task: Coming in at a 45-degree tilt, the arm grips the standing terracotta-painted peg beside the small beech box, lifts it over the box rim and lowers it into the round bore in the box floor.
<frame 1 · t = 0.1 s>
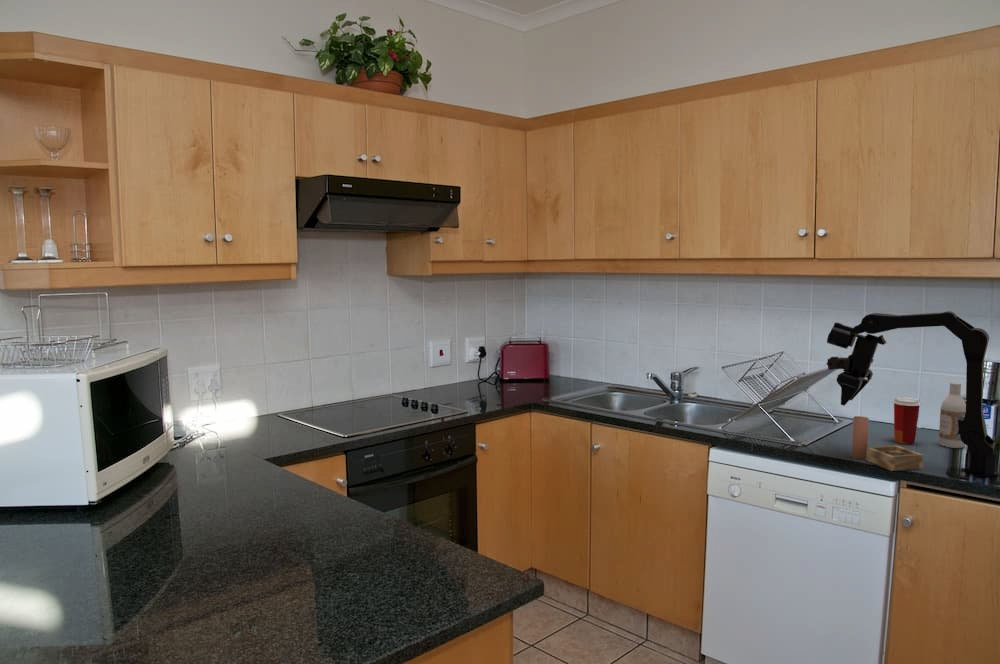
hand: (846, 402, 213), 15 cm above the countertop, tool pointing down, fingers open, 9 cm apart
bath foam: (951, 446, 221), on the countertop
paper cup: (904, 442, 226), on the countertop
peg: (859, 457, 209), on the countertop
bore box: (893, 464, 202), on the countertop
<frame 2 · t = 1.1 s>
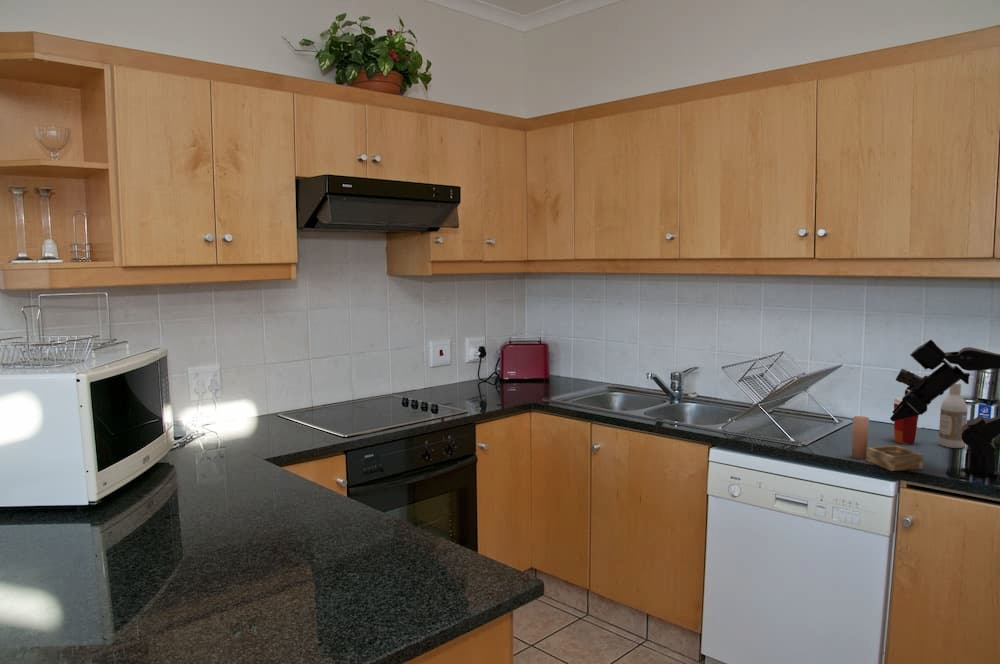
hand: (892, 416, 204), 13 cm above the countertop, tool tilted 45°, fingers open, 9 cm apart
nothing on the countertop moved.
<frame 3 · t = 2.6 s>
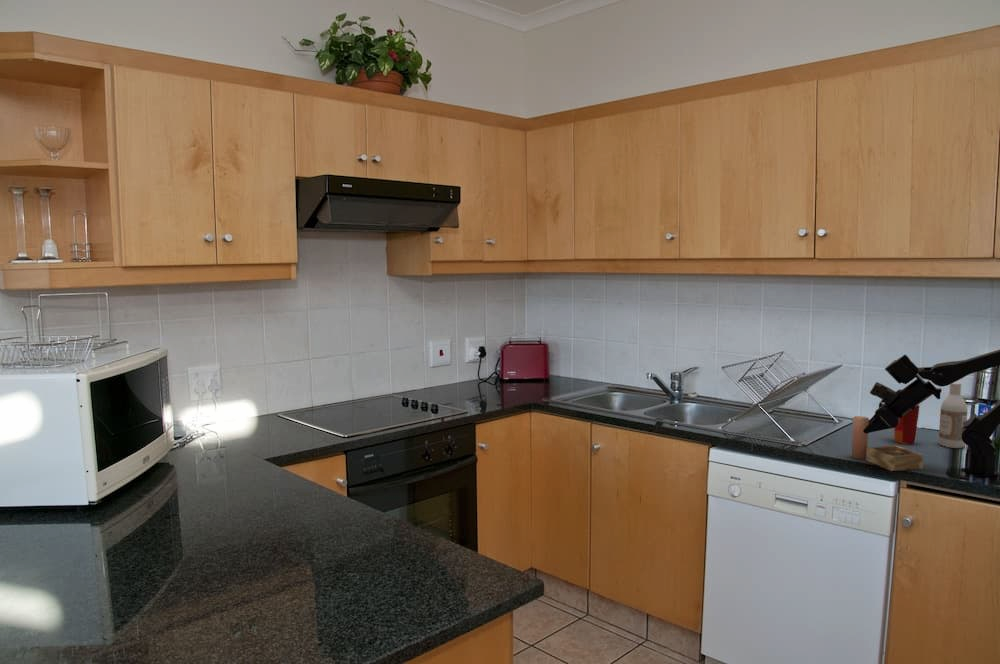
hand: (865, 428, 208), 9 cm above the countertop, tool tilted 45°, fingers open, 9 cm apart
nothing on the countertop moved.
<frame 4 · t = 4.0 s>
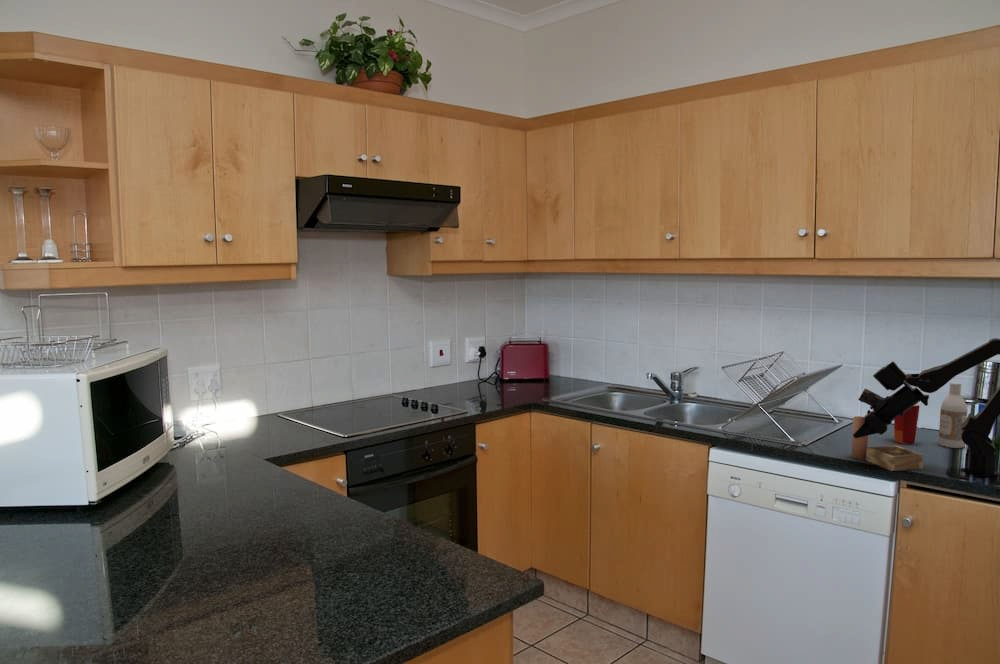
hand: (855, 435, 209), 7 cm above the countertop, tool tilted 45°, fingers closed on peg, 4 cm apart
peg: (859, 457, 209), on the countertop, touching gripper
everything else where it was.
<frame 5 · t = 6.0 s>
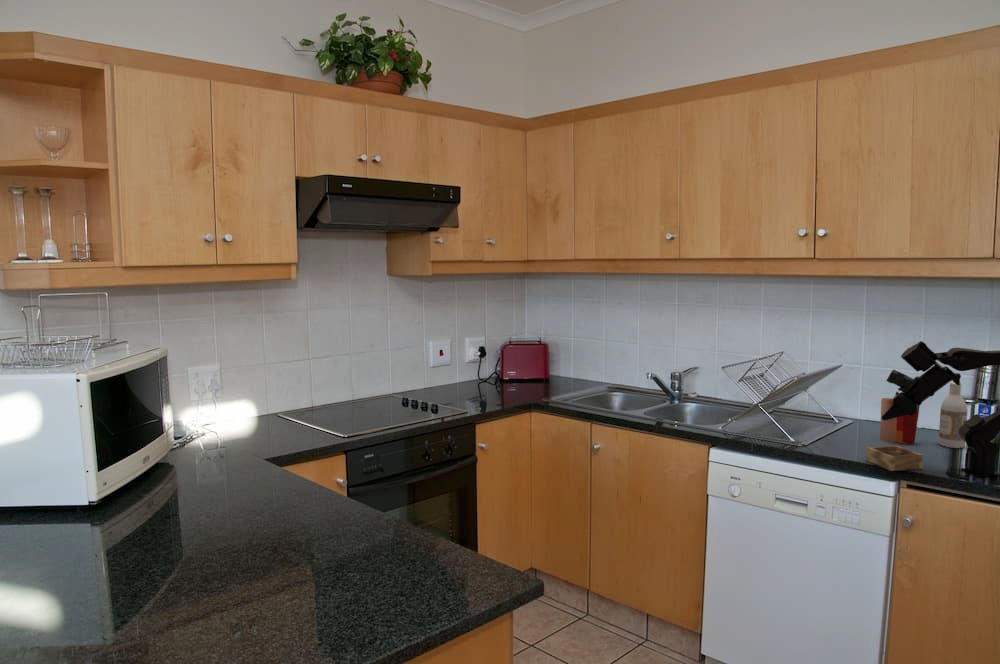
hand: (883, 417, 203), 13 cm above the countertop, tool tilted 45°, fingers closed on peg, 4 cm apart
peg: (887, 440, 203), point 7 cm above the countertop, touching gripper
everything else where it was.
when the fingers open (8 cm above the countertop, at t = 7.8 s): peg drops 2 cm, resting in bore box.
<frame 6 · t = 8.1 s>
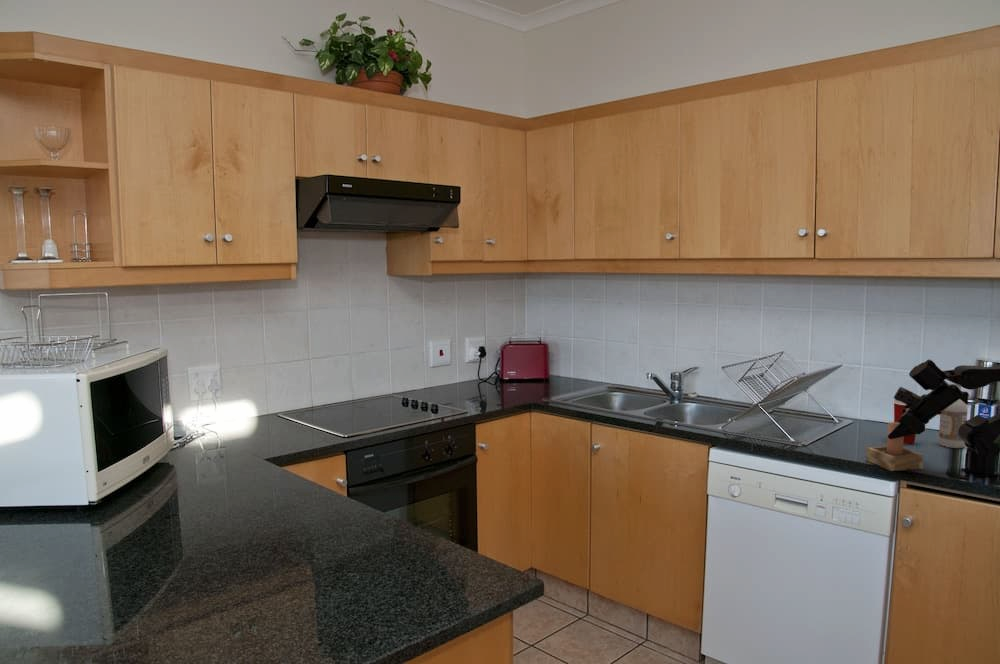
hand: (889, 434, 202), 9 cm above the countertop, tool tilted 45°, fingers open, 7 cm apart
peg: (893, 464, 202), resting in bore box
everything else where it was.
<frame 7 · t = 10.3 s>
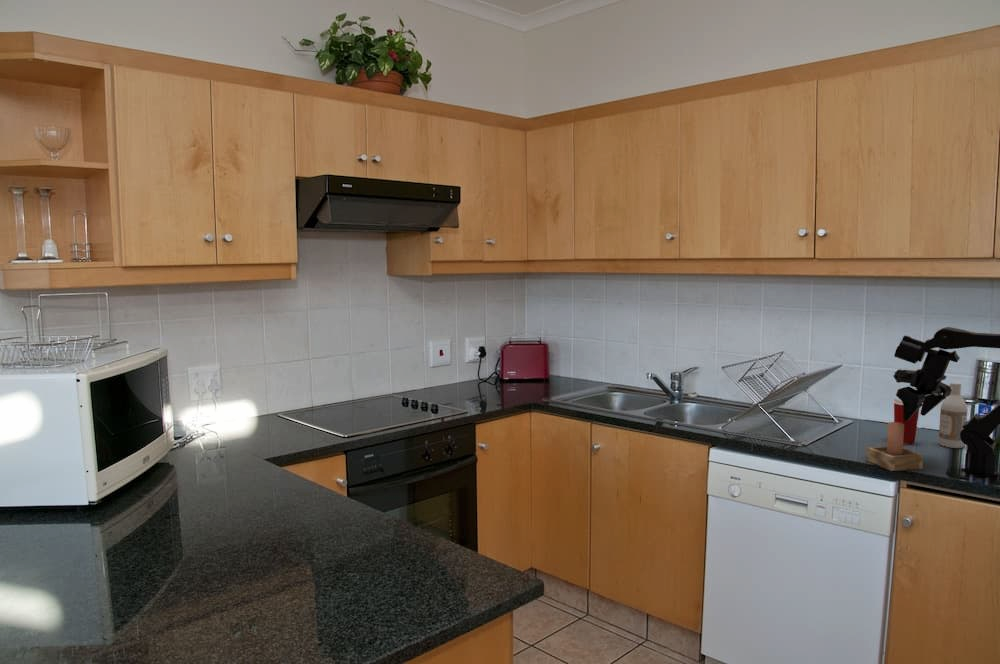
hand: (913, 417, 205), 13 cm above the countertop, tool tilted 20°, fingers open, 9 cm apart
nothing on the countertop moved.
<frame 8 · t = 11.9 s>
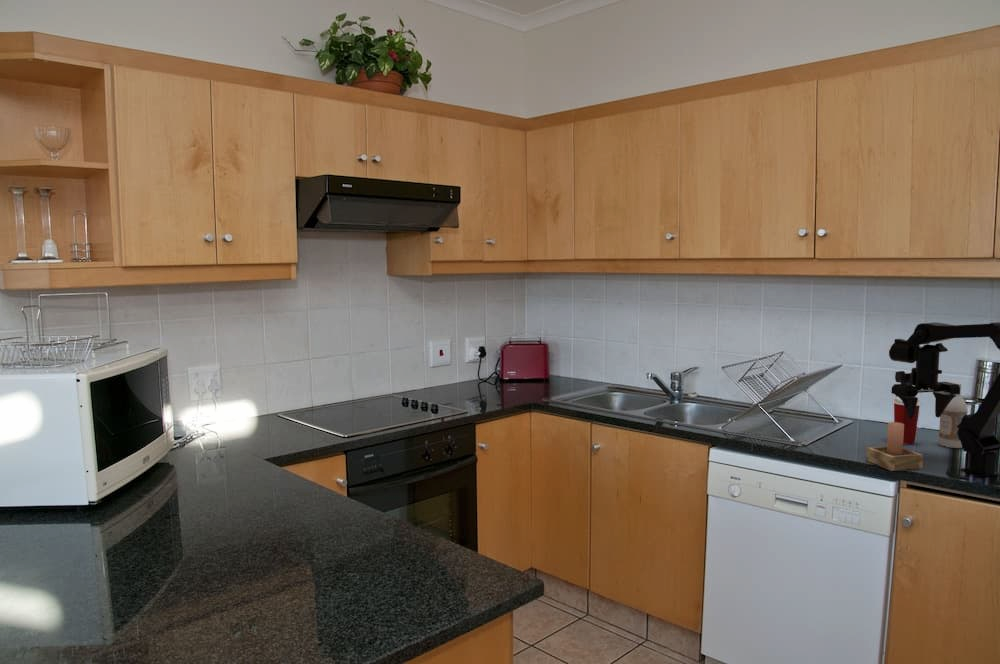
hand: (924, 418, 207), 12 cm above the countertop, tool pointing down, fingers open, 9 cm apart
nothing on the countertop moved.
at the end: peg 0.1 cm off-centre on the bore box, point 0.0 cm above the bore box's base; peg tilted 0°; the gripper is holding nothing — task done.
